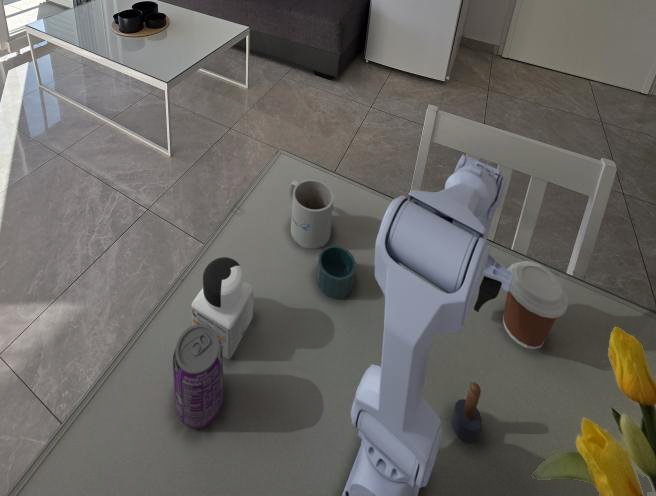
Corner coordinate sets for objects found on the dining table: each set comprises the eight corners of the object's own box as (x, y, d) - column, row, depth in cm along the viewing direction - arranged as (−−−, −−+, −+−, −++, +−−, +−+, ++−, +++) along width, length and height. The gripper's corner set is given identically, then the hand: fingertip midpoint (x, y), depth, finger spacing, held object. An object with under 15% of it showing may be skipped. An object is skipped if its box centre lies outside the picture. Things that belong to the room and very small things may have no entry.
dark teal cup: (343, 307, 78) (345, 287, 77) (310, 284, 82) (311, 265, 80) (359, 277, 84) (361, 258, 82) (327, 257, 87) (329, 239, 86)
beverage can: (201, 362, 69) (199, 310, 65) (232, 397, 65) (232, 344, 61) (165, 404, 64) (161, 350, 60) (197, 445, 60) (195, 390, 56)
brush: (475, 450, 60) (487, 408, 57) (448, 430, 62) (459, 389, 59) (480, 423, 63) (492, 382, 60) (454, 405, 65) (465, 365, 62)
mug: (337, 242, 91) (340, 205, 88) (299, 253, 88) (302, 215, 85) (313, 198, 102) (316, 164, 99) (279, 207, 99) (281, 172, 96)
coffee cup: (546, 371, 69) (565, 320, 66) (487, 329, 75) (501, 280, 71) (558, 328, 76) (575, 278, 72) (502, 292, 82) (516, 245, 78)
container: (191, 336, 73) (189, 280, 69) (217, 296, 79) (216, 243, 75) (229, 361, 69) (229, 304, 65) (253, 317, 76) (254, 263, 72)
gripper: (525, 239, 66) (507, 302, 70) (432, 189, 75) (421, 248, 79) (513, 271, 61) (495, 337, 65) (416, 214, 70) (405, 275, 74)
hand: (453, 290), depth 72 cm, fingers open, 7 cm apart
